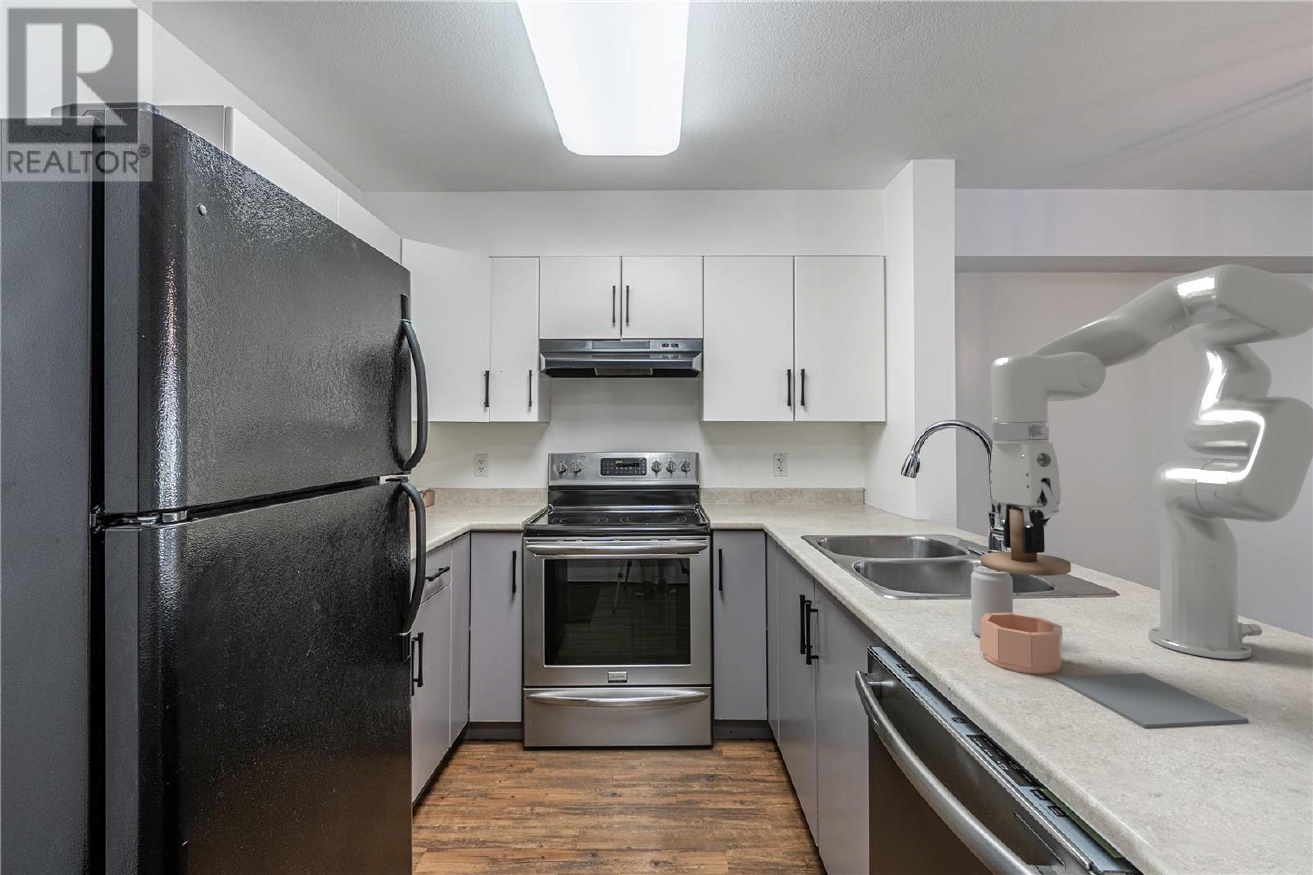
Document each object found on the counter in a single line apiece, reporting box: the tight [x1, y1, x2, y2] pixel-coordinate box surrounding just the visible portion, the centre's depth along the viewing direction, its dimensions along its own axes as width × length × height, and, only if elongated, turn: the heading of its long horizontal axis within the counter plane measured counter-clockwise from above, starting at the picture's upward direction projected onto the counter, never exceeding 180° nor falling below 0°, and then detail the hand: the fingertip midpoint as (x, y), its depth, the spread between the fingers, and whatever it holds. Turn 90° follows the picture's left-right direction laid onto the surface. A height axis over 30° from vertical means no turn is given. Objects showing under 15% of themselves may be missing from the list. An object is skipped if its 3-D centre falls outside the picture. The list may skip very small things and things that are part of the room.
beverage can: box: [970, 565, 1014, 638], centre depth 102 cm, size 6×6×12 cm
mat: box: [1054, 672, 1250, 729], centre depth 77 cm, size 14×14×1 cm
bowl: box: [979, 612, 1063, 676], centre depth 91 cm, size 10×10×6 cm
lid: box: [980, 507, 1072, 577], centre depth 91 cm, size 12×12×9 cm
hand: (1023, 548), depth 91 cm, fingers closed on lid, 3 cm apart
